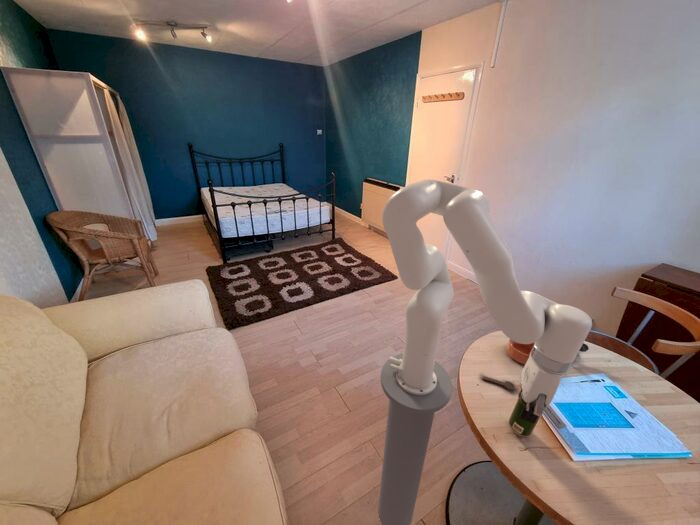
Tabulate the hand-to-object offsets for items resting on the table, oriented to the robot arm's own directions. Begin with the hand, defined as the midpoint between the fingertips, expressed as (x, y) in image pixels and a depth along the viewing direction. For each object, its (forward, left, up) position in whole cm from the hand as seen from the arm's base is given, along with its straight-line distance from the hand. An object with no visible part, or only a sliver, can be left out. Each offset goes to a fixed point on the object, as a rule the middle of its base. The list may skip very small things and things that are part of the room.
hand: (525, 409), depth 71 cm
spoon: (-5, +14, -8) cm, 17 cm away
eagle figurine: (+17, +38, -8) cm, 42 cm away
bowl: (+3, +31, -8) cm, 32 cm away
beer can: (0, 0, -7) cm, 7 cm away
